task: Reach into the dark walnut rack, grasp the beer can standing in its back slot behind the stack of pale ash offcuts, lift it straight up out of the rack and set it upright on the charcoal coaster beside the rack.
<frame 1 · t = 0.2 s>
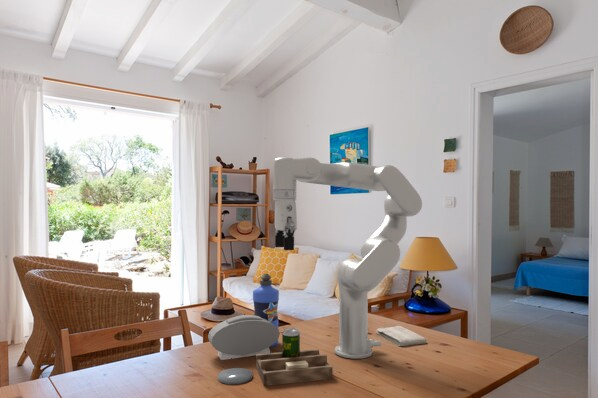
hand: (284, 248, 141), 36 cm above the table, tool pointing down, fingers open, 9 cm apart
alarm clock: (244, 354, 145), on the table
beer can: (291, 370, 131), resting in rack
top offcut: (296, 371, 125), point 2 cm above the table
water bottle: (265, 344, 156), on the table
low offcut: (303, 378, 126), resting in rack
washcloth: (399, 339, 163), on the table
rack: (293, 373, 129), on the table
coaster: (235, 377, 126), on the table
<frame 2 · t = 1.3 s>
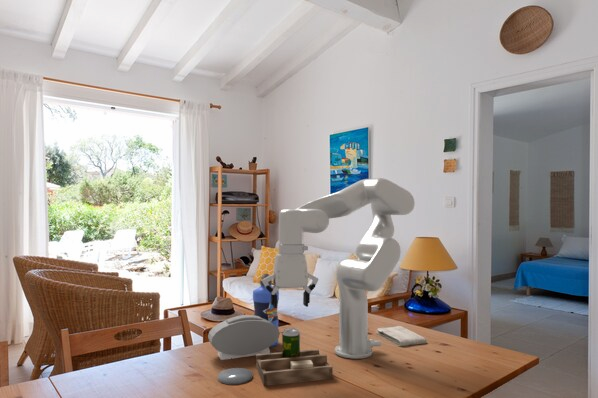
hand: (290, 306, 132), 19 cm above the table, tool pointing down, fingers open, 9 cm apart
top offcut: (301, 370, 125), point 2 cm above the table, touching low offcut
low offcut: (304, 378, 126), resting in rack, touching top offcut
everything else where it was.
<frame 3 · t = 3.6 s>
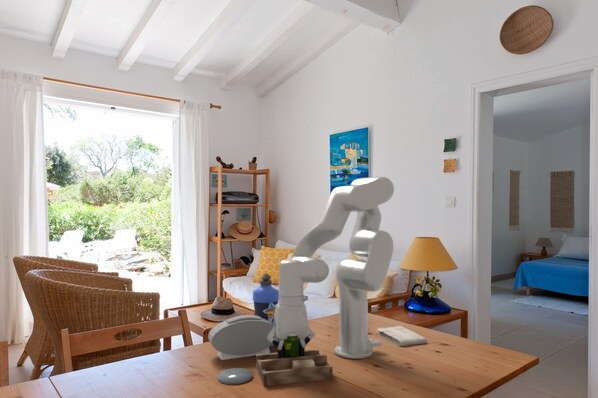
hand: (291, 359, 132), 3 cm above the table, tool pointing down, fingers closed on beer can, 5 cm apart
beer can: (291, 370, 131), resting in rack, touching gripper
top offcut: (303, 370, 126), point 2 cm above the table
low offcut: (305, 377, 126), resting in rack
everything else where it was.
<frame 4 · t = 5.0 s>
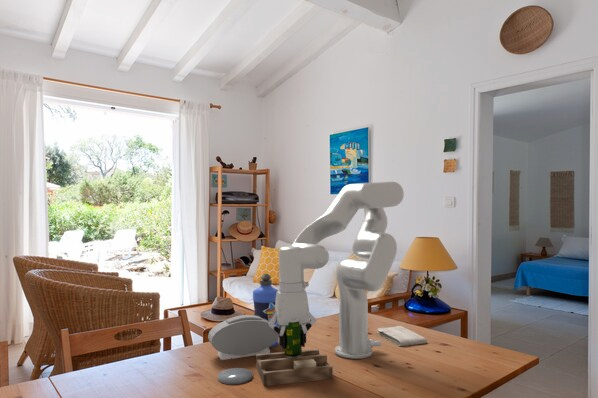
hand: (292, 345, 132), 7 cm above the table, tool pointing down, fingers closed on beer can, 5 cm apart
beer can: (293, 356, 132), point 4 cm above the table, touching gripper
top offcut: (304, 370, 126), point 2 cm above the table, touching low offcut
low offcut: (305, 378, 126), resting in rack, touching top offcut
everything else where it was.
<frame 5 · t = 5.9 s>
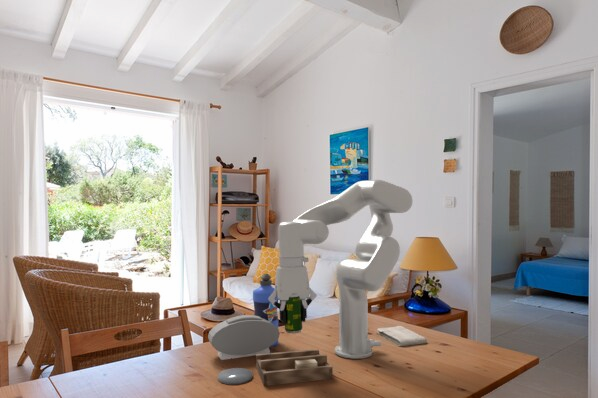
hand: (293, 321, 132), 15 cm above the table, tool pointing down, fingers closed on beer can, 5 cm apart
beer can: (293, 331, 132), point 11 cm above the table, touching gripper
top offcut: (306, 369, 126), point 2 cm above the table
low offcut: (305, 377, 126), resting in rack
everything else where it was.
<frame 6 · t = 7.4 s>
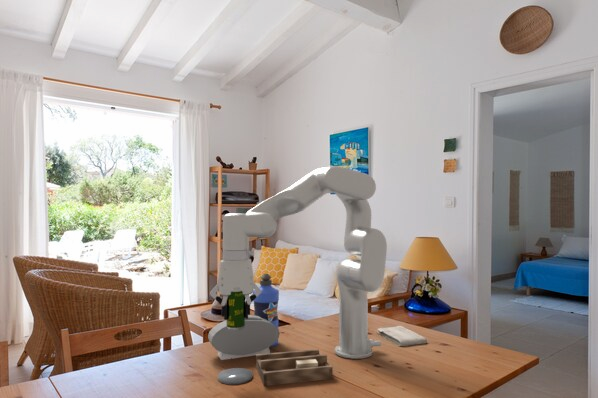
hand: (235, 317, 126), 17 cm above the table, tool pointing down, fingers closed on beer can, 5 cm apart
beer can: (235, 328, 126), point 14 cm above the table, touching gripper
everything else where it was.
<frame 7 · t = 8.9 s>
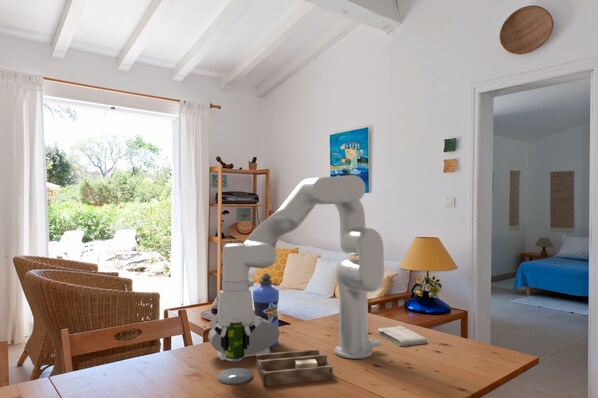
hand: (235, 348, 126), 8 cm above the table, tool pointing down, fingers closed on beer can, 5 cm apart
beer can: (235, 359, 126), point 5 cm above the table, touching gripper
top offcut: (306, 369, 126), point 2 cm above the table, touching low offcut
low offcut: (305, 378, 126), resting in rack, touching top offcut
everything else where it was.
when the fingers open (5 cm above the table, at t = 10.4 s): beer can drops 2 cm, resting on coaster.
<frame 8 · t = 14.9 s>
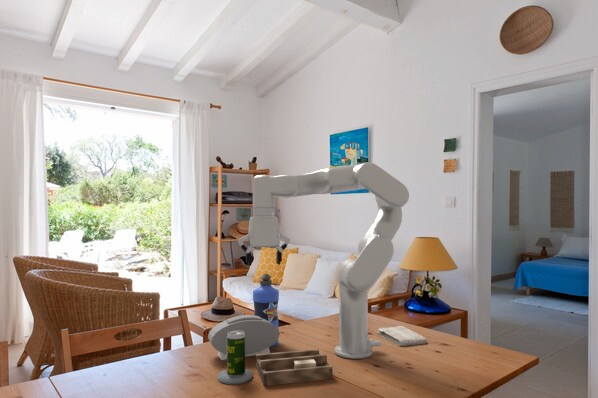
hand: (264, 264, 143), 30 cm above the table, tool pointing down, fingers open, 9 cm apart
beer can: (236, 375, 126), point 1 cm above the table, touching coaster
at the end: beer can 0.3 cm off-centre on the coaster, point 0.6 cm above the coaster's base; beer can tilted 0°; the gripper is holding nothing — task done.
